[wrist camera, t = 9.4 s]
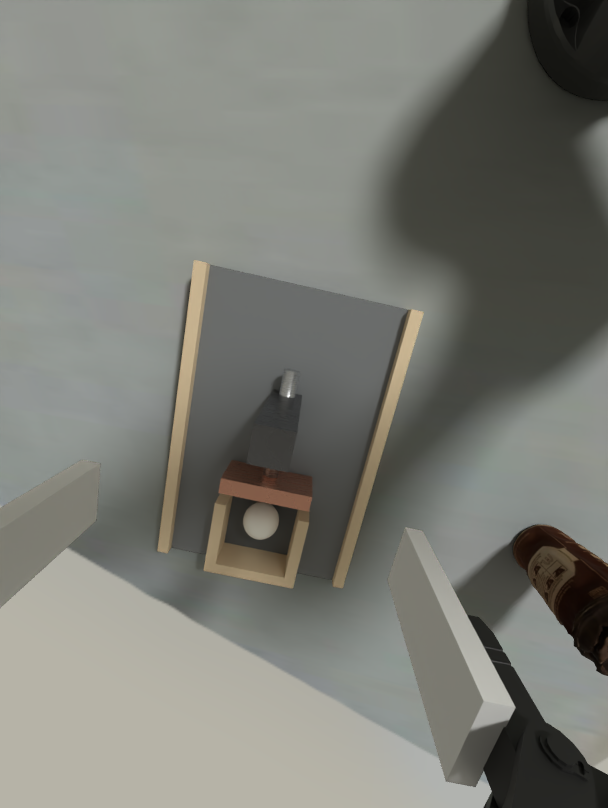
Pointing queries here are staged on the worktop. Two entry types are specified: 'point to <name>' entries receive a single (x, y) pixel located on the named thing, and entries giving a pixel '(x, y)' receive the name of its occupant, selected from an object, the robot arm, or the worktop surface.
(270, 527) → the ball
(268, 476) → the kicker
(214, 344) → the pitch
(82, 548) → the worktop surface
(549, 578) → the coffee cup
